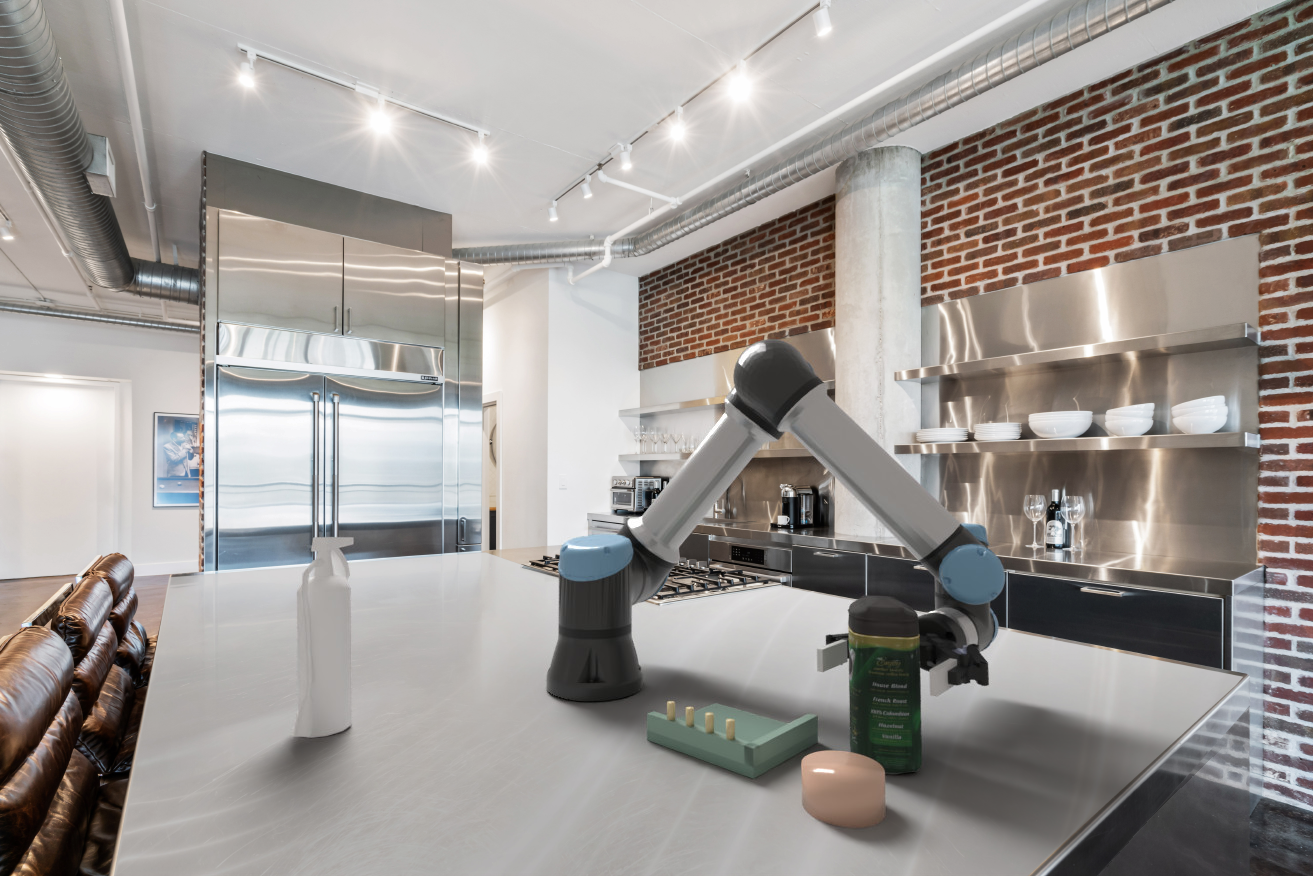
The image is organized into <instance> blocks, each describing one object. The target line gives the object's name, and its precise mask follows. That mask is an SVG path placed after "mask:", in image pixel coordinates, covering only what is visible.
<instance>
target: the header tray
mask: <svg viewBox="0 0 1313 876" xmlns="http://www.w3.org/2000/svg"><path fill="white" fill-rule="evenodd" d="M818 722H819V721H818V715H816V714H814V713H809V712H808V713H807V714H805V715H803V716H801V717H799V718H797V719H794V720H793V721H791V722H789V723H787V722H784V721H780V720H776V719H773V718H770V717H766V716H762V715H760V714H757V713H756V714H755V713H752V712H750V711H746V710H742V709H739V708H735V707H731V706H727V705H724V704H720V703H718V702H714V703H712V704H710V705H707V706H704V707H702V708H700V709H697V710H695V708H694V707H693V706H687V707H685V715H681V716H679V717H676V702H675V701H673V700H668V701H666V714H664V713H661V712H658V711H655V710H652V711H651V712H647V714H646V740H647V741H649V742H652V743H655V744H657V745H659V746H663V747H665V748H668V749H671V750H674V751H677V752H679V753H681V754H685V755H686V756H687V755H688V756H690V757H692V758H696V759H699V760H701V761H703V762H707V763H709V764H711V765H713V766H717V767H719V768H724V769H726V770H728V771H731V772H734V773H736V774H739V775H742V776H744V777H747V778H750V779H756V778H757V777H760V776H761V775H763V774H765V773H767V772H768V771H770V770H771V769H773V768H775V767H777V766H778V765H780V764H782V763H784V762H786V761H787V760H789V759H792V757H794V756H796V755H797V754H800V753H802V752H803V751H805V750H807V749H809V748H810V747H812V746H814V745H815V744H817V743H818V742H819V731H818V730H819V729H818V728H819V727H818Z"/></svg>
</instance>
